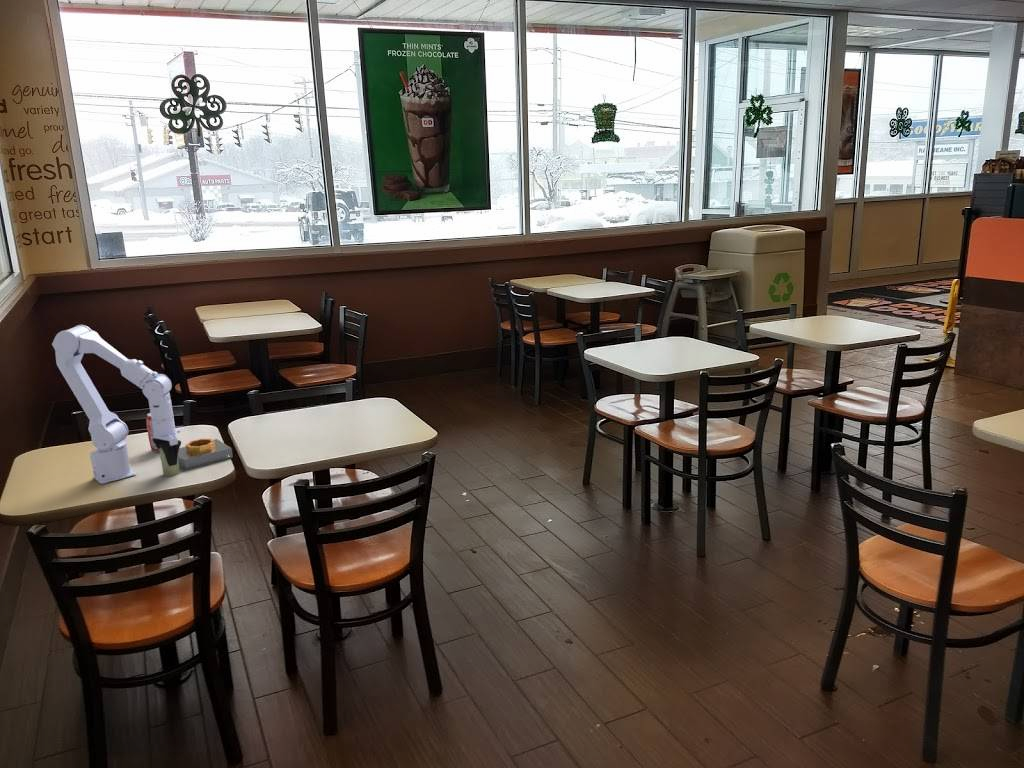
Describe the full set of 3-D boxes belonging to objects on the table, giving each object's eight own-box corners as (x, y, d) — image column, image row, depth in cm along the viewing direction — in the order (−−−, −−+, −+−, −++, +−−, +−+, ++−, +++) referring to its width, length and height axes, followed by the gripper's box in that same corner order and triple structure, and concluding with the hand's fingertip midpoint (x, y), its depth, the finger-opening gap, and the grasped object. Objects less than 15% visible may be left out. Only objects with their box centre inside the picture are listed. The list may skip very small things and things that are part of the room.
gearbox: (185, 469, 228) (183, 453, 227) (169, 457, 239) (166, 441, 238) (232, 457, 237) (230, 441, 235) (214, 445, 248) (212, 430, 247)
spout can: (166, 477, 223) (161, 447, 220) (161, 473, 226) (156, 443, 223) (182, 473, 225) (177, 443, 223) (177, 469, 229) (172, 439, 226)
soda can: (145, 452, 244) (139, 415, 241) (161, 444, 251) (155, 409, 248) (164, 454, 242) (158, 417, 239) (180, 446, 249) (174, 410, 246)
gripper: (185, 420, 218) (192, 465, 222) (168, 409, 229) (175, 453, 233) (159, 426, 214) (167, 472, 218) (143, 415, 225) (151, 459, 228)
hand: (170, 462), depth 225 cm, fingers closed on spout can, 4 cm apart
